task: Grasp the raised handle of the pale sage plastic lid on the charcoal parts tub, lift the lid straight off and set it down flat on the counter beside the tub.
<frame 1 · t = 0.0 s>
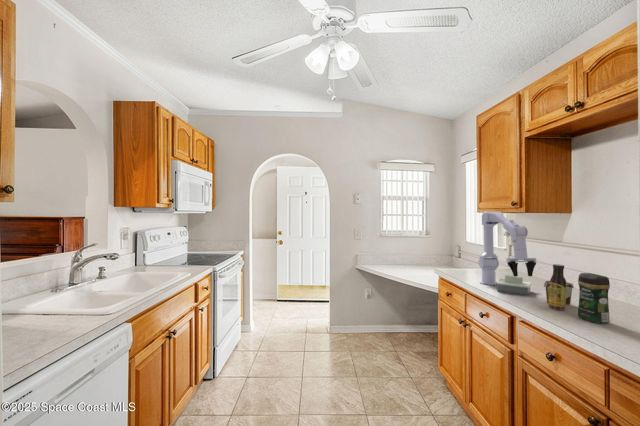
hand: (522, 276, 165), 11 cm above the table, tool pointing down, fingers open, 7 cm apart
coffee jar: (593, 320, 129), on the table
food container: (555, 303, 155), on the table
sauce bottle: (557, 309, 145), on the table
tub: (513, 291, 177), on the table
lid: (513, 283, 177), point 4 cm above the table, touching tub
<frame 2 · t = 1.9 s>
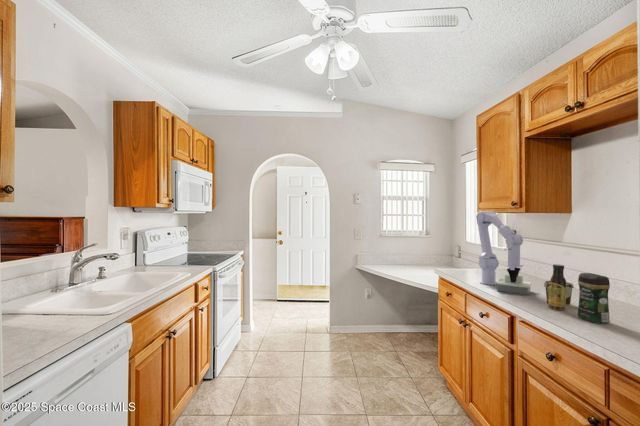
hand: (513, 281, 177), 5 cm above the table, tool pointing down, fingers closed on lid, 4 cm apart
lid: (513, 283, 177), point 4 cm above the table, touching gripper, tub
everything else where it was.
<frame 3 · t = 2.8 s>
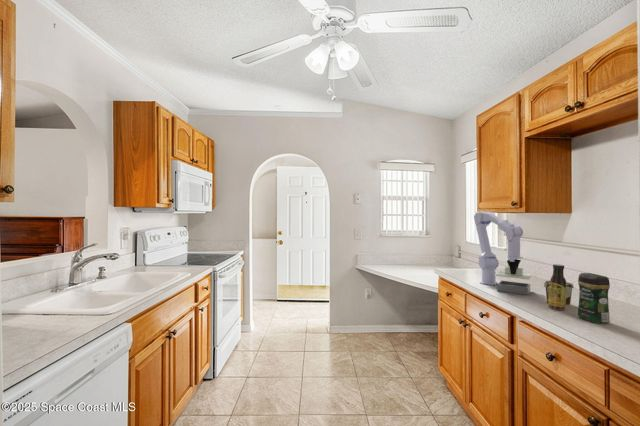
hand: (513, 273, 177), 10 cm above the table, tool pointing down, fingers closed on lid, 4 cm apart
lid: (513, 275, 177), point 8 cm above the table, touching gripper
everything else where it was.
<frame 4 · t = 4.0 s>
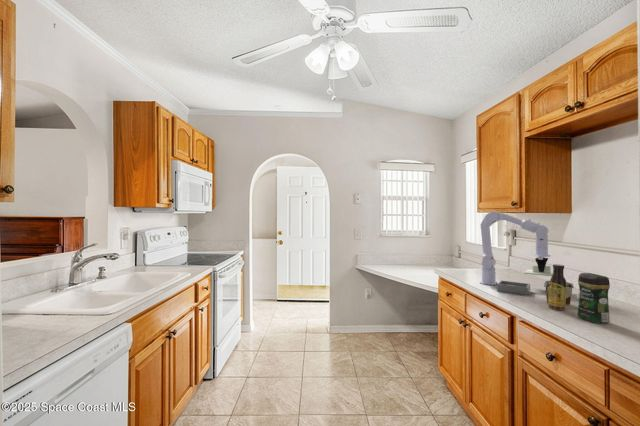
hand: (541, 271, 181), 10 cm above the table, tool pointing down, fingers closed on lid, 4 cm apart
lid: (541, 273, 181), point 9 cm above the table, touching gripper
everything else where it was.
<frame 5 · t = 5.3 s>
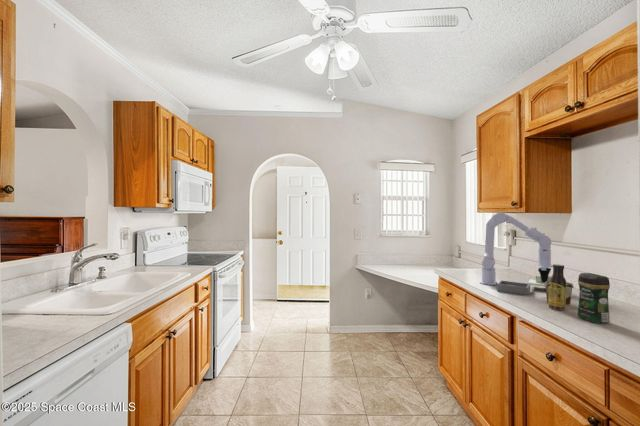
hand: (544, 281, 181), 5 cm above the table, tool pointing down, fingers closed on lid, 4 cm apart
lid: (544, 284, 181), point 3 cm above the table, touching gripper
everything else where it was.
when the fingers open (3 cm above the table, at t = 6.1 s): lid drops 2 cm, on the table.
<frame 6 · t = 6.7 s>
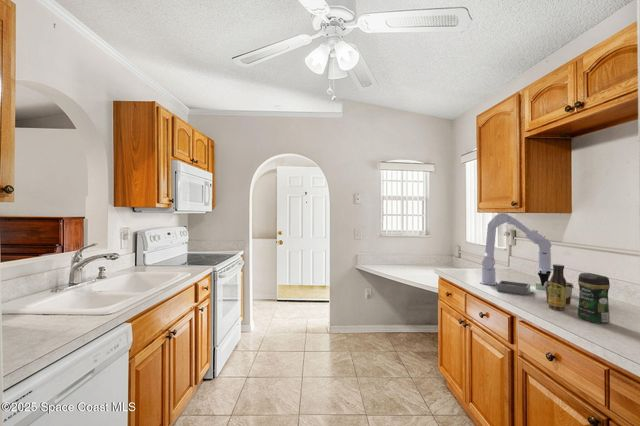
hand: (544, 284, 181), 3 cm above the table, tool pointing down, fingers open, 7 cm apart
lid: (544, 291, 181), on the table
everything else where it was.
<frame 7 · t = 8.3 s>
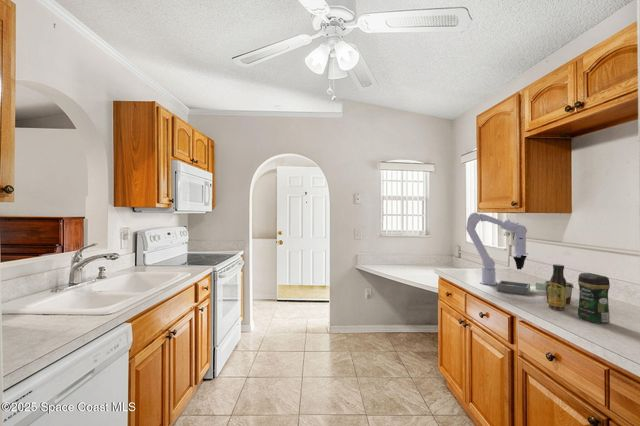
hand: (520, 268, 190), 10 cm above the table, tool pointing down, fingers open, 7 cm apart
nothing on the table moved.
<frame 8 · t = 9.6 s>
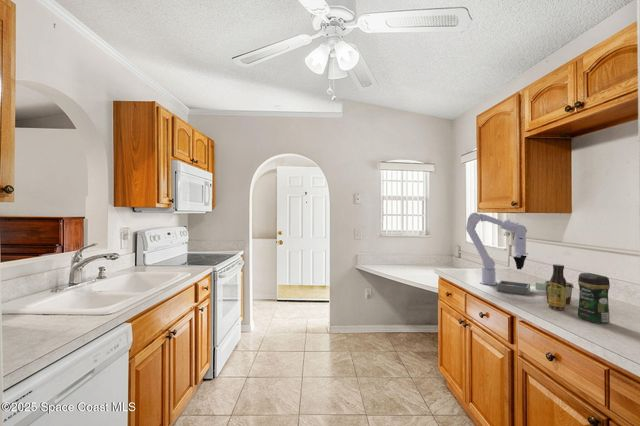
hand: (520, 268, 190), 10 cm above the table, tool pointing down, fingers open, 7 cm apart
nothing on the table moved.
at the end: lid inside the target area (0.1 cm from its centre), on the table; lid touching table; lid tilted 0° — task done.
